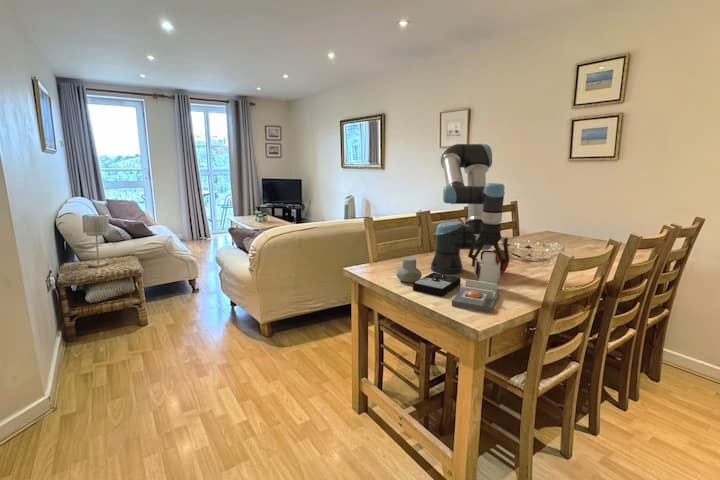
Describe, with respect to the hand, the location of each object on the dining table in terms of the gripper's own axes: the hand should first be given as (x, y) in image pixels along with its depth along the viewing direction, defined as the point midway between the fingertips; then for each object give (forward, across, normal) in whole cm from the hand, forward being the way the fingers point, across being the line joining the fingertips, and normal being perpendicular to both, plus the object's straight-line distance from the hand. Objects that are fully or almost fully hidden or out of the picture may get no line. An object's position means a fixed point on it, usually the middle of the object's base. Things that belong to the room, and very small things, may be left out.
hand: (486, 276), depth 155 cm
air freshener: (+6, -32, -6) cm, 33 cm away
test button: (+2, -1, -22) cm, 22 cm away
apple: (+6, +1, +26) cm, 27 cm away
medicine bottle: (+2, 0, 0) cm, 2 cm away
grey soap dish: (+5, -1, -17) cm, 17 cm away
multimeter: (+6, -18, -9) cm, 21 cm away
